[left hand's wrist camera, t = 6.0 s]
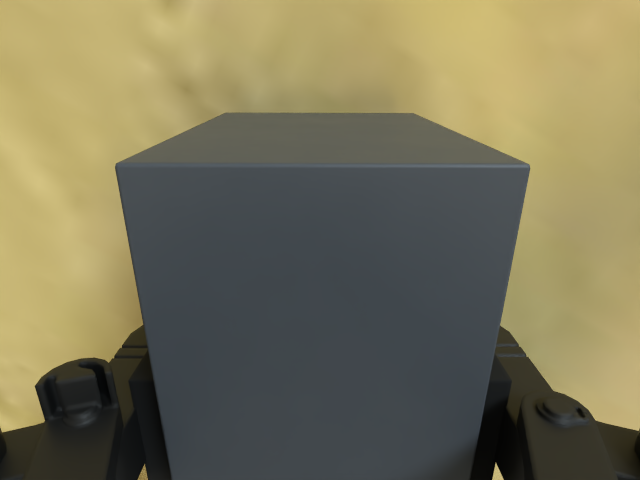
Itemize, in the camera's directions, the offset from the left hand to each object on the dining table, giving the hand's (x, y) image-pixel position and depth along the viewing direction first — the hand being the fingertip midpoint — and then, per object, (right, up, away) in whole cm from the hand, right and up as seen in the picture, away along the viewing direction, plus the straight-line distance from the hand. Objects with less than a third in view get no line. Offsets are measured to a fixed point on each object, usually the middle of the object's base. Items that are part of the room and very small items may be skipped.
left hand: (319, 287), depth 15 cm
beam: (0, -22, +10) cm, 25 cm away
